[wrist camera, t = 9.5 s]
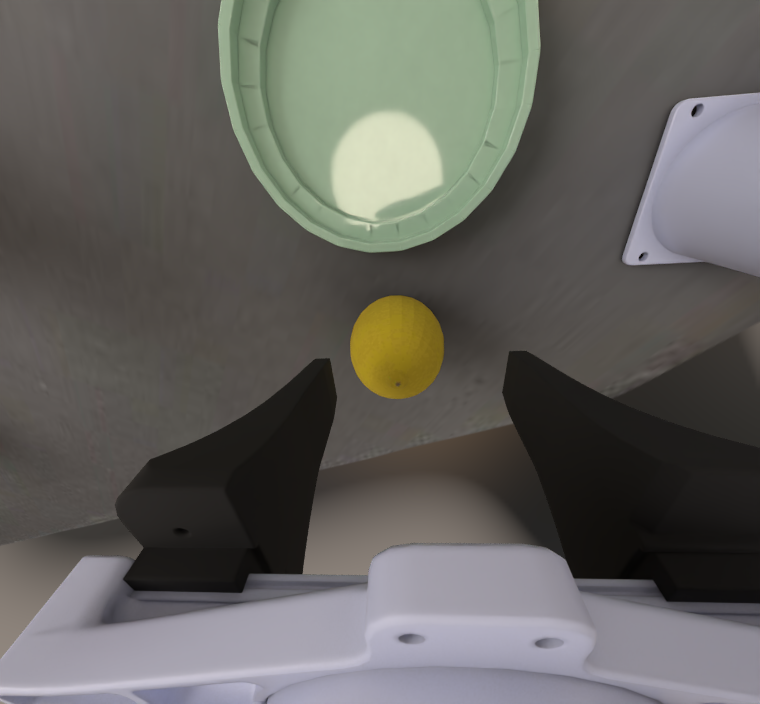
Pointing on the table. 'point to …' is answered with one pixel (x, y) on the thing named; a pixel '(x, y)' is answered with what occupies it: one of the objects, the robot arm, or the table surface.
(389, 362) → the lemon
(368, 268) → the table surface
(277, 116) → the plate
